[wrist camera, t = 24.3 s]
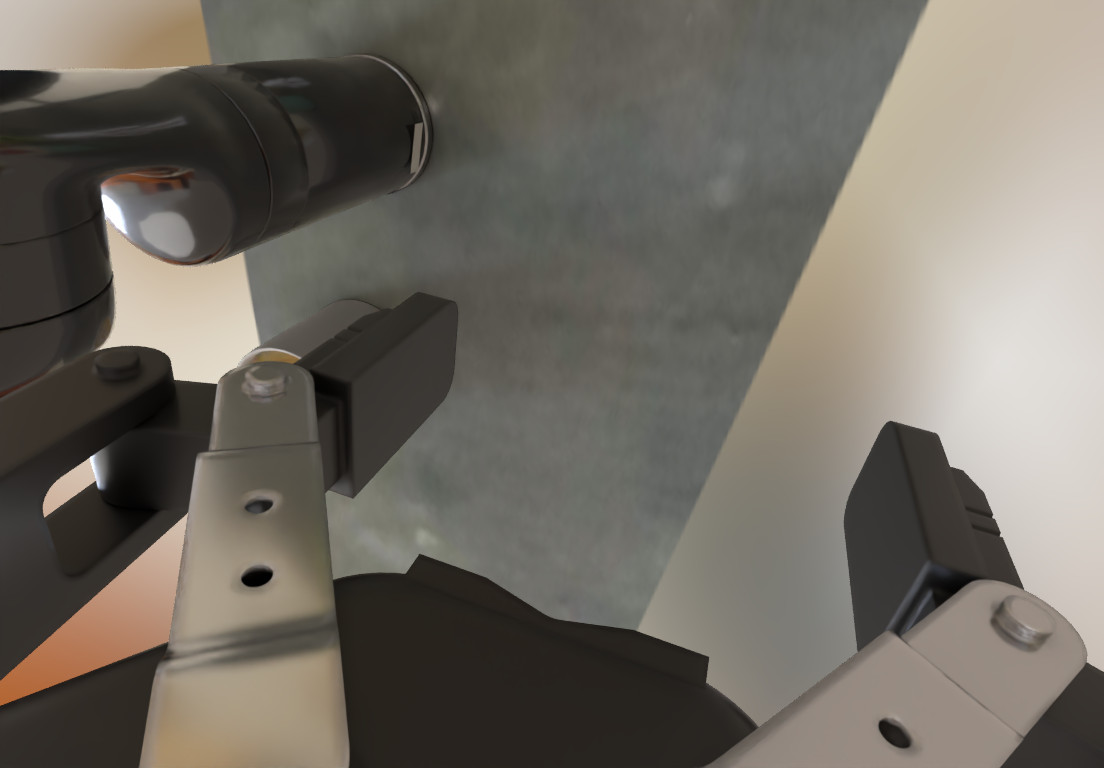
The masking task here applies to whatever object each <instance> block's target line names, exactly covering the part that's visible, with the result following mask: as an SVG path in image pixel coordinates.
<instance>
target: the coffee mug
mask: <svg viewBox="0 0 1104 768" xmlns="http://www.w3.org/2000/svg"><path fill="white" fill-rule="evenodd" d="M377 311H381V310H379V309H377V308H376V307H374V306H372V305H369V304H367V303H364V302H361V301H356V300H340V301H336V302H333V303H331V304H330V305H328V306H326V307H324V308H323V309H321V310H319V311H318V312H316V313H314V314H313V315H311V316H309V317H308V318H306V319H304V320H303V321H301V322H299V323H297V324H296V325H294V326H292V327H291V328H289V329H287V330H286V331H284V332H282V333H281V334H279V335H277V336H276V337H274V338H272V339H270V340H269V341H267V342H265V343H264V344H262V345H260V346H259V347H257V348H255V349H254V350H252V351H251V352H250V353H248V354H247V355H245V356H244V358H243V359H242V360H241V361H240V363H239V364H238V366H237V367H240V366H242V365H246V364H250V363H255V362H263V361H279V362H286V363H291V364H293V363H295V362H296V361H298V360H299V359H301V358H302V357H304V356H305V355H307V354H308V353H310V352H311V351H313V350H314V349H316V348H317V347H318V346H320V345H321V344H323V343H324V342H326V341H327V340H329V339H330V338H333V339H334V336H335V335H336V334H338V333H339V332H340V331H342V330H343V329H347V328H348V326H349V325H351V324H352V323H354V322H355V321H357V320H358V319H360V318H361V317H363V316H364V315H367V314H371V313H374V312H377Z"/></svg>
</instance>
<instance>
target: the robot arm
mask: <svg viewBox="0 0 1104 768" xmlns="http://www.w3.org/2000/svg"><path fill="white" fill-rule="evenodd" d="M431 146H432V125H431V119H430V115H429V111H428V108H427V105H426V103H425V100H424V98H423V96H422V94H421V92H420V90H419V89H418V87H417V86H416V84H415V83H414V82H413V80H412V79H411V78H410V77H409V76H408V75H407V74H406V73H405V72H404V71H403V70H402V69H401V68H400V67H398V66H397V65H396V64H394V63H393V62H391V61H389V60H387V59H385V58H382V57H379V56H376V55H370V54H355V55H348V56H344V57H328V58H311V59H294V60H277V61H261V62H244V63H227V64H212V65H199V66H182V67H166V68H150V69H100V68H99V69H98V68H87V69H86V68H83V69H82V68H80V69H48V70H0V680H2V679H3V678H4V677H5V676H6V675H7V674H8V673H9V672H10V671H11V670H12V669H14V668H15V667H16V666H17V665H18V664H19V663H20V662H22V661H23V660H24V659H25V658H26V657H27V656H28V655H29V654H31V653H32V652H33V651H34V650H35V649H36V648H37V647H38V646H40V645H41V644H42V643H43V642H44V641H45V640H46V639H47V638H48V637H50V636H51V635H52V634H53V633H54V632H55V631H56V630H57V629H59V628H60V627H61V626H62V625H63V624H64V623H65V622H66V621H67V620H68V619H70V618H71V617H72V616H73V615H74V614H75V613H76V612H78V611H79V610H80V609H81V608H82V607H83V606H84V605H85V604H87V603H88V602H89V601H90V600H91V599H92V598H93V597H94V596H95V595H97V594H98V593H99V592H100V591H101V590H102V589H103V588H104V587H106V586H107V585H108V584H109V583H110V582H111V581H112V580H113V579H114V578H116V577H117V576H118V575H119V574H120V573H121V572H122V571H123V570H125V569H126V568H127V567H128V566H129V565H130V564H131V563H132V562H133V561H134V560H136V559H137V558H138V557H139V556H140V555H141V554H142V553H144V552H145V551H146V550H147V549H148V548H149V547H150V546H151V545H153V544H154V543H155V542H156V541H157V540H158V539H159V538H160V537H161V536H163V535H164V534H165V533H166V532H167V531H168V530H169V529H170V528H172V527H173V526H174V525H175V524H176V523H177V522H178V521H179V520H180V519H182V518H183V517H184V516H185V515H186V514H187V513H188V517H187V524H186V531H185V537H184V544H183V550H182V558H181V564H180V570H179V577H178V584H177V590H176V597H175V604H174V610H173V617H172V623H171V630H170V637H169V642H167V643H164V644H161V645H159V646H156V647H153V648H151V649H148V650H145V651H143V652H140V653H138V654H135V655H132V656H130V657H127V658H125V659H122V660H119V661H117V662H114V663H112V664H109V665H106V666H104V667H101V668H98V669H96V670H93V671H91V672H88V673H85V674H83V675H80V676H77V677H75V678H72V679H70V680H67V681H64V682H62V683H59V684H56V685H54V686H51V687H49V688H46V689H43V690H41V691H38V692H35V693H33V694H30V695H28V696H25V697H22V698H20V699H17V700H15V701H12V702H9V703H7V704H4V705H1V706H0V768H1104V672H1103V671H1101V670H1099V669H1097V668H1095V667H1094V666H1092V665H1090V664H1089V663H1087V662H1086V661H1087V651H1086V647H1085V645H1084V642H1083V640H1082V639H1081V637H1080V635H1079V634H1078V632H1077V631H1076V630H1075V628H1074V627H1073V626H1072V625H1071V624H1070V623H1069V622H1068V621H1067V620H1066V619H1065V618H1064V617H1063V616H1062V615H1061V614H1060V613H1059V612H1058V611H1056V610H1055V609H1054V608H1053V607H1051V606H1050V605H1049V604H1047V603H1046V602H1044V601H1043V600H1041V599H1039V598H1038V597H1036V596H1035V595H1033V594H1031V593H1029V592H1027V591H1025V590H1024V588H1023V585H1022V583H1021V581H1020V578H1019V576H1018V574H1017V571H1016V569H1015V566H1014V564H1013V561H1012V559H1011V557H1010V554H1009V552H1008V549H1007V547H1006V545H1005V542H1004V540H1003V538H1002V537H1000V533H1001V532H1000V530H999V528H998V526H997V523H996V520H995V519H993V518H992V516H993V513H992V511H991V509H990V506H989V504H988V501H987V499H986V496H985V494H984V492H983V491H982V490H981V489H980V488H979V487H978V486H977V485H976V484H975V483H974V482H973V481H972V480H971V479H970V478H969V476H968V475H967V474H966V473H965V472H964V471H963V470H959V469H956V468H953V467H950V465H949V463H948V460H947V457H946V454H945V452H944V449H943V446H942V443H941V441H940V438H939V436H938V435H937V434H936V433H933V432H930V431H926V430H922V429H919V428H915V427H911V426H908V425H904V424H900V423H897V422H893V421H889V422H887V423H886V424H885V425H884V427H883V428H882V429H881V431H880V433H879V435H878V437H877V439H876V441H875V443H874V445H873V447H872V449H871V451H870V453H869V455H868V457H867V459H866V461H865V464H864V466H863V468H862V470H861V472H860V474H859V476H858V478H857V480H856V482H855V484H854V486H853V488H852V490H851V493H850V495H849V498H848V501H847V505H846V509H845V515H844V530H845V539H846V548H847V558H848V566H849V576H850V586H851V595H852V604H853V613H854V623H855V631H856V641H857V650H858V652H857V653H856V654H855V655H853V656H852V657H851V658H849V659H848V660H847V661H846V662H844V663H843V664H842V665H840V666H839V667H838V668H836V669H835V670H834V671H832V672H831V673H830V674H828V675H827V676H826V677H824V678H823V679H822V680H821V681H820V682H818V683H817V684H815V685H814V686H813V687H811V688H810V689H809V690H808V691H806V692H805V693H803V694H802V695H801V696H799V697H798V698H797V699H796V700H794V701H793V702H792V703H790V704H789V705H788V706H786V707H785V708H784V709H782V710H781V711H780V712H778V713H777V714H776V715H775V716H773V717H772V718H771V719H769V720H768V721H767V722H765V723H764V724H763V725H762V726H760V727H758V726H757V724H756V723H755V722H754V721H753V720H752V719H751V718H750V717H749V716H748V715H747V714H746V713H745V712H743V710H741V709H740V708H739V707H738V706H737V705H736V704H735V703H733V702H732V701H731V700H730V699H728V698H727V697H726V696H724V695H723V694H722V693H720V692H719V691H718V690H716V689H715V688H713V687H712V686H710V685H709V684H707V683H706V677H707V670H708V662H709V657H708V656H705V655H702V654H699V653H696V652H694V651H691V650H688V649H685V648H682V647H680V646H677V645H674V644H671V643H668V642H666V641H663V640H660V639H657V638H654V637H652V636H649V635H646V634H643V633H640V632H637V631H635V630H630V629H622V628H615V627H608V626H600V625H593V624H586V623H578V622H571V621H563V620H557V619H554V618H551V617H548V616H547V615H545V614H543V613H541V612H540V611H538V610H537V609H535V608H534V607H532V606H530V605H529V604H527V603H526V602H524V601H522V600H521V599H519V598H518V597H516V596H514V595H513V594H511V593H510V592H508V591H507V590H505V589H503V588H502V587H500V586H499V585H497V584H495V583H494V582H492V581H491V580H489V579H488V578H486V577H483V576H480V575H477V574H475V573H472V572H469V571H466V570H463V569H461V568H458V567H455V566H452V565H449V564H447V563H444V562H441V561H438V560H435V559H433V558H430V557H427V556H424V555H421V554H419V556H418V557H417V558H416V560H415V561H414V563H413V564H412V566H411V567H410V568H409V570H408V571H407V573H406V574H401V573H367V574H358V575H352V576H346V577H342V578H338V579H335V580H333V575H332V564H331V553H330V542H329V531H328V520H327V509H326V498H325V493H326V492H327V491H328V490H330V491H333V492H336V493H339V494H342V495H345V496H348V497H350V498H354V497H355V496H356V495H357V494H358V493H359V492H360V491H361V490H362V489H363V487H364V486H365V485H366V484H367V483H368V482H369V481H370V480H371V479H372V478H373V477H374V476H375V474H376V473H377V472H378V471H379V470H380V469H381V468H382V467H383V466H384V465H385V464H386V463H387V461H388V460H389V459H390V458H391V457H392V456H393V455H394V454H395V453H396V452H397V451H398V450H399V448H400V447H401V446H402V445H403V444H404V443H405V442H406V441H407V440H408V439H409V438H410V437H411V435H412V434H413V433H414V432H415V431H416V430H417V429H418V428H419V427H420V426H421V425H422V424H423V422H424V421H425V420H426V419H427V418H428V417H429V416H430V415H431V414H432V413H433V412H434V411H435V409H436V408H437V407H438V406H439V405H440V404H441V403H442V402H443V401H444V399H445V398H446V396H447V394H448V392H449V389H450V387H451V383H452V380H453V375H454V365H455V351H456V338H457V325H458V307H457V304H456V302H454V301H451V300H447V299H444V298H440V297H436V296H433V295H429V294H425V293H422V292H417V293H415V294H414V295H412V296H411V297H410V298H408V299H407V300H405V301H404V302H403V303H401V304H400V305H398V306H397V307H396V308H394V309H393V310H392V309H388V308H387V309H384V310H381V311H377V312H374V313H371V314H367V315H364V316H363V317H361V318H360V319H358V320H357V321H355V322H354V323H352V324H351V325H349V326H348V328H347V329H343V330H342V331H340V332H339V333H338V334H336V335H335V336H334V339H333V338H330V339H329V340H327V341H326V342H324V343H323V344H321V345H320V346H318V347H317V348H316V349H314V350H313V351H311V352H310V353H308V354H307V355H305V356H304V357H302V358H301V359H299V360H298V361H296V362H295V363H293V364H291V363H286V362H279V361H263V362H255V363H250V364H246V365H242V366H240V367H237V368H235V369H233V370H231V371H229V372H228V373H226V374H225V375H224V376H223V377H221V379H220V380H219V382H218V384H211V383H201V382H190V381H180V380H174V377H173V371H172V366H171V361H170V359H169V357H168V356H167V355H166V354H165V353H163V352H161V351H159V350H156V349H153V348H148V347H141V346H120V347H112V348H106V349H102V350H99V349H100V348H101V347H102V346H103V345H104V344H105V343H106V342H107V341H108V339H109V338H110V336H111V334H112V331H113V329H114V325H115V318H116V291H115V282H114V276H113V271H112V262H111V256H110V247H109V240H108V234H107V227H106V219H107V221H109V223H110V224H111V225H112V226H113V227H114V228H115V229H116V230H117V231H118V232H119V233H120V234H121V235H122V236H123V237H124V238H125V239H126V240H127V241H128V242H130V243H131V244H132V245H134V246H135V247H136V248H138V249H140V250H141V251H143V252H144V253H146V254H147V255H149V256H151V257H153V258H155V259H158V260H160V261H163V262H166V263H168V264H172V265H176V266H183V267H198V266H204V265H209V264H212V263H216V262H219V261H221V260H224V259H226V258H229V257H231V256H234V255H236V254H239V253H241V252H243V251H245V250H248V249H250V248H253V247H255V246H258V245H260V244H263V243H265V242H268V241H270V240H273V239H275V238H278V237H280V236H282V235H285V234H287V233H290V232H292V231H295V230H297V229H300V228H302V227H305V226H307V225H310V224H312V223H315V222H317V221H320V220H322V219H325V218H327V217H330V216H332V215H335V214H337V213H340V212H342V211H345V210H347V209H350V208H352V207H355V206H357V205H360V204H362V203H365V202H367V201H370V200H373V199H375V198H378V197H380V196H383V195H385V194H390V193H394V192H396V191H399V190H401V189H404V188H406V187H407V186H409V185H410V184H412V183H413V182H414V181H415V180H416V179H417V178H418V177H419V176H420V175H421V173H422V172H423V170H424V168H425V166H426V164H427V162H428V159H429V156H430V152H431ZM105 218H106V219H105ZM88 458H90V461H91V464H92V468H93V471H94V474H95V479H96V481H95V482H94V483H92V484H91V485H89V486H88V487H87V488H85V489H84V490H83V491H81V492H80V493H78V494H77V495H76V496H74V497H73V498H71V499H70V500H68V501H67V502H66V503H64V504H63V505H61V506H60V507H59V508H57V509H56V510H55V511H53V512H52V513H51V514H49V515H48V516H46V517H45V518H44V515H43V502H44V498H45V496H46V494H47V492H48V490H49V489H50V487H51V486H52V485H53V484H54V483H55V482H56V481H57V480H58V479H59V478H60V477H62V476H63V475H64V474H66V473H68V472H69V471H71V470H72V469H74V468H75V467H76V466H78V465H79V464H81V463H82V462H84V461H86V460H87V459H88Z"/></svg>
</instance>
